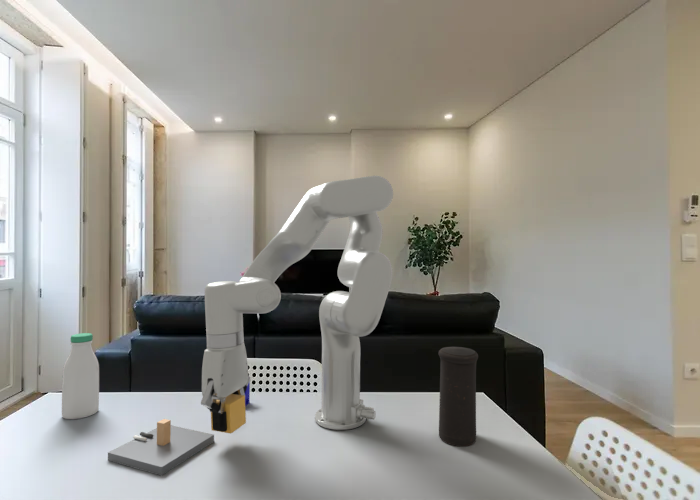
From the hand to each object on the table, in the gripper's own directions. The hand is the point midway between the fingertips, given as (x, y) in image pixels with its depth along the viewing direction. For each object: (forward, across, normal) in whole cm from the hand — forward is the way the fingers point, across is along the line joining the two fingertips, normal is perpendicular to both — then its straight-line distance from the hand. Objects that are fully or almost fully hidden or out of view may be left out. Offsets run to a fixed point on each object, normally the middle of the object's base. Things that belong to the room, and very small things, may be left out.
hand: (228, 423), depth 83 cm
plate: (+4, +7, -11) cm, 14 cm away
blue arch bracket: (+5, -15, -11) cm, 19 cm away
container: (+7, -22, +45) cm, 50 cm away
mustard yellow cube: (+1, 0, 0) cm, 1 cm away
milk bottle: (+3, +1, -45) cm, 45 cm away
